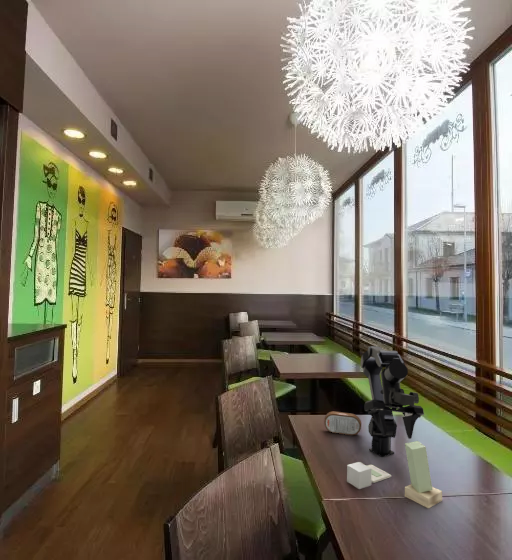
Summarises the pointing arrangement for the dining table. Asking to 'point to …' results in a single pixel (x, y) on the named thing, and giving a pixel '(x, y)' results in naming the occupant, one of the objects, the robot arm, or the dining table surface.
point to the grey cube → (359, 475)
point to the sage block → (418, 466)
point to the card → (378, 474)
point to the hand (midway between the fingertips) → (397, 437)
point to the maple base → (424, 496)
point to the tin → (342, 423)
